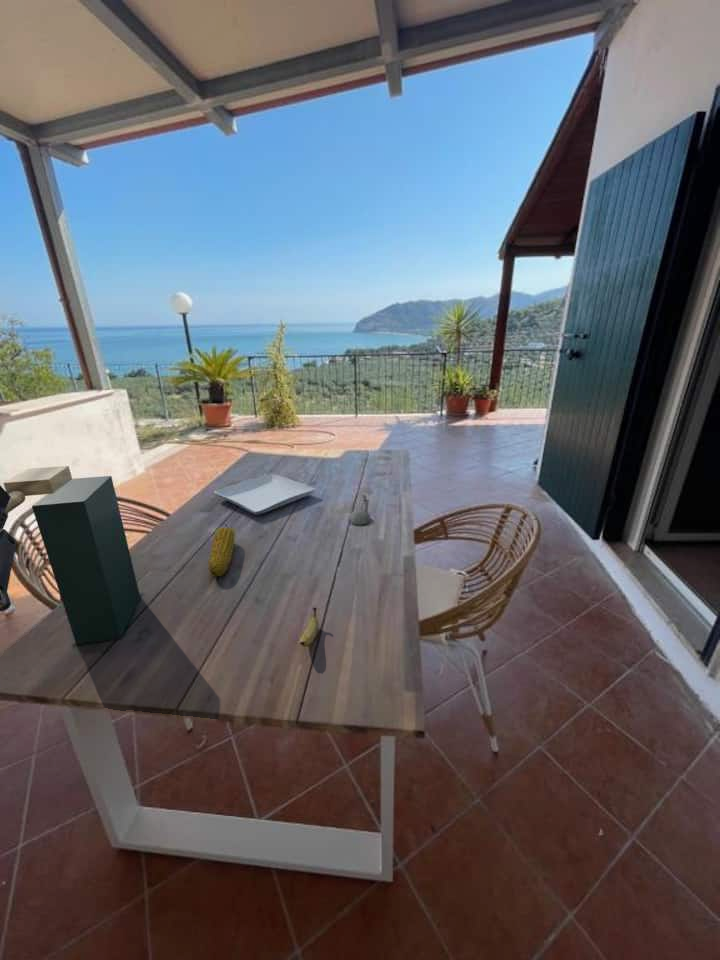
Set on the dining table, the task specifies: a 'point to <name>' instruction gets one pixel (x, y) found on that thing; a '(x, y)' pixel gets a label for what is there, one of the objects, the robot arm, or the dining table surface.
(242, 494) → the square plate
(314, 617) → the banana
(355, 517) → the soupspoon
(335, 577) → the dining table surface
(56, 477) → the wooden mallet
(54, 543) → the stand
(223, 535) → the food
